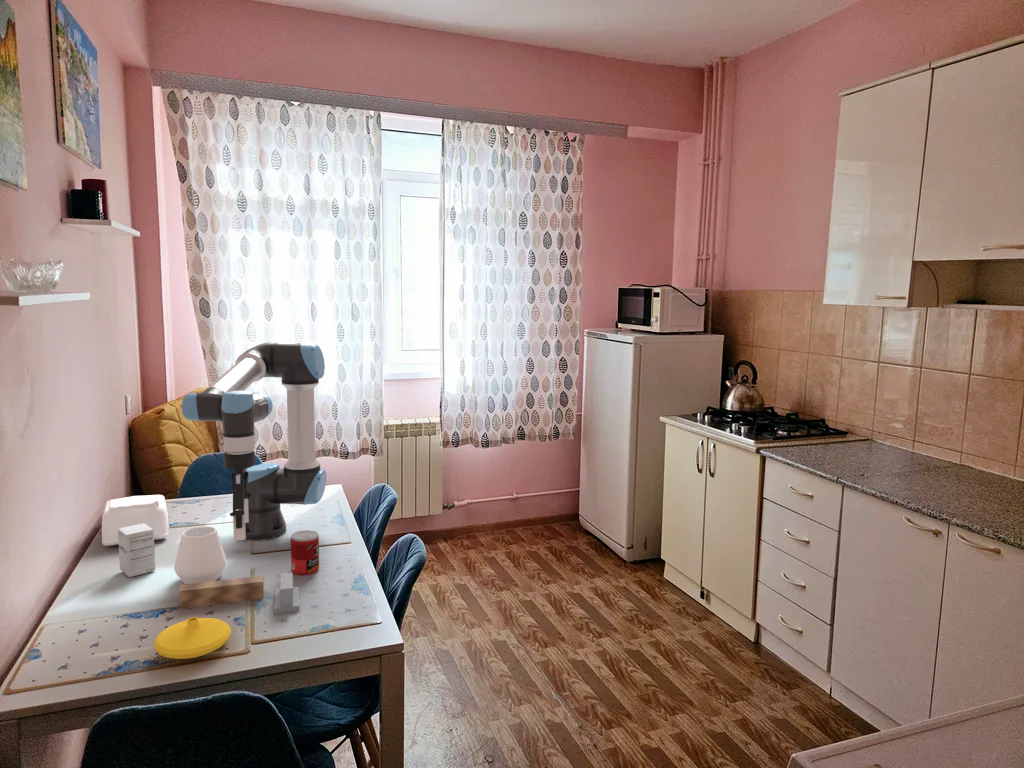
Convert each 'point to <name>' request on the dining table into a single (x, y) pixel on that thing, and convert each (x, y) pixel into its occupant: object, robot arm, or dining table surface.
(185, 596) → the slat
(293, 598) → the ridge
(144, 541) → the supplement box
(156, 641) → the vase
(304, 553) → the canned food
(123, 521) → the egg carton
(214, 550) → the white planter pot
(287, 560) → the dining table surface
